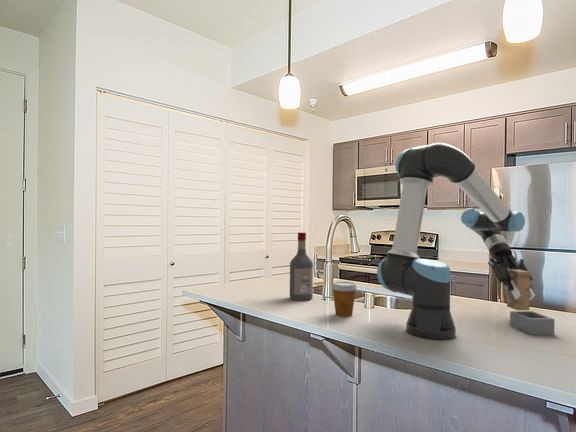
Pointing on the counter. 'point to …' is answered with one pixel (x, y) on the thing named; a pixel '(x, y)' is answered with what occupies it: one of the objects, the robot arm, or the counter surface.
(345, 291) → the disposable coffee cup
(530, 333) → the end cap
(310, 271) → the liquor
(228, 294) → the counter surface
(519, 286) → the tan tall block
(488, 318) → the counter surface
